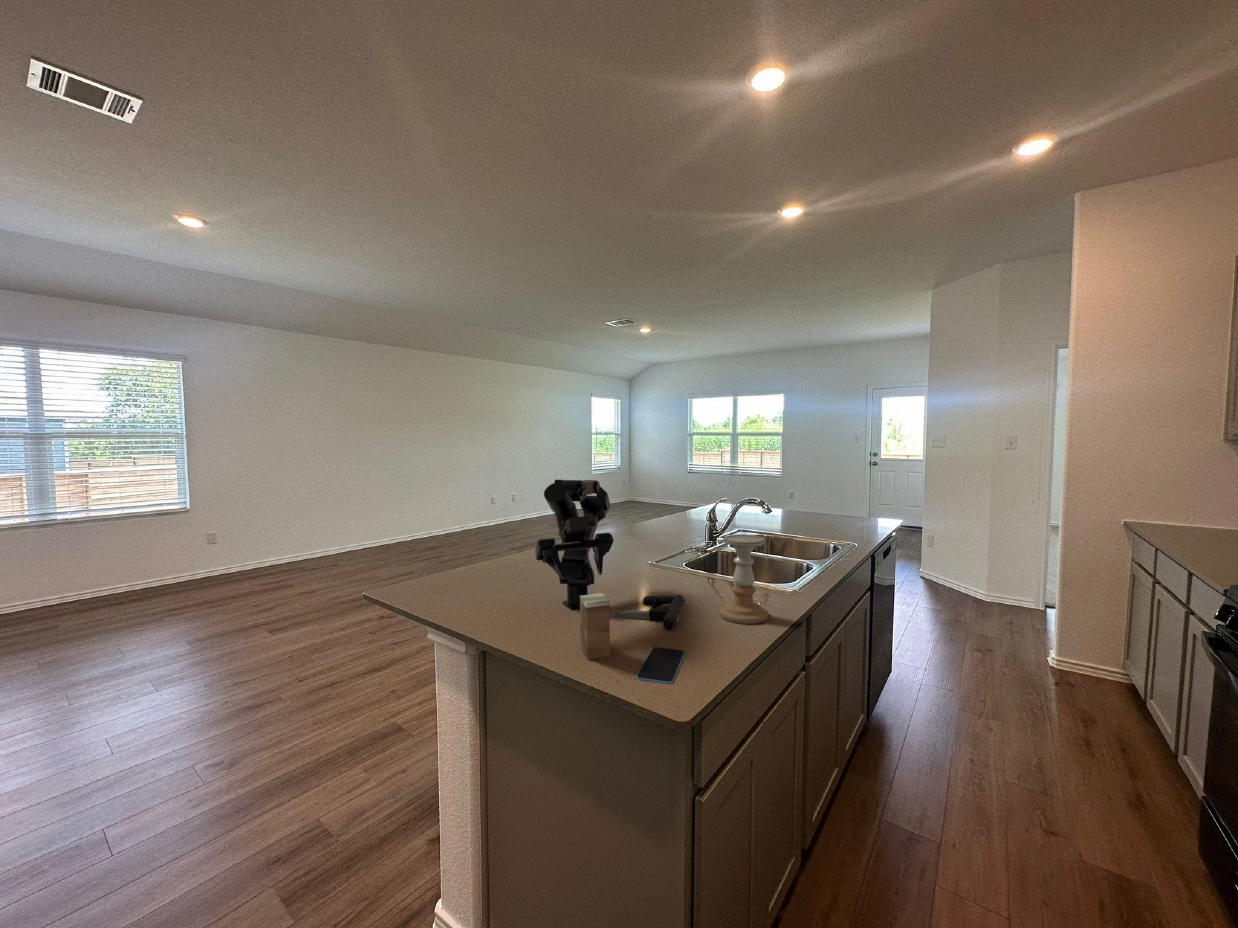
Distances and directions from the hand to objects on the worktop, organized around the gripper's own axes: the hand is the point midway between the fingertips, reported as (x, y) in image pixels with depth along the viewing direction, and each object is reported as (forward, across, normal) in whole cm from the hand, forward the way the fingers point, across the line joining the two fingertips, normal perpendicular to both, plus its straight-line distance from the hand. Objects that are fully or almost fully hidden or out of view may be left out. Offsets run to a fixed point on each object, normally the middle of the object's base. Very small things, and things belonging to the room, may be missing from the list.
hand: (582, 576), depth 118 cm
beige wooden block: (+18, -1, +1) cm, 18 cm away
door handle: (+7, +21, +14) cm, 26 cm away
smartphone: (+25, +10, -6) cm, 28 cm away
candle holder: (+14, +42, +6) cm, 44 cm away
